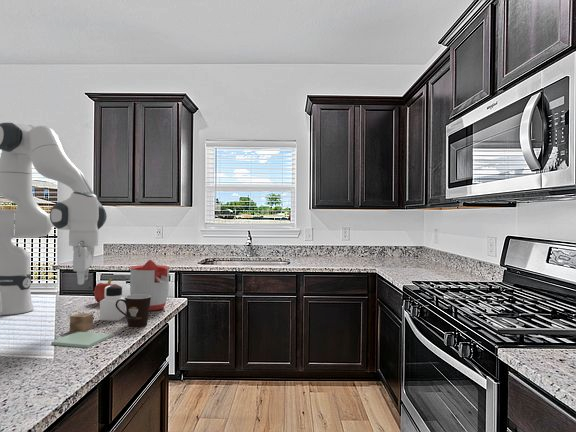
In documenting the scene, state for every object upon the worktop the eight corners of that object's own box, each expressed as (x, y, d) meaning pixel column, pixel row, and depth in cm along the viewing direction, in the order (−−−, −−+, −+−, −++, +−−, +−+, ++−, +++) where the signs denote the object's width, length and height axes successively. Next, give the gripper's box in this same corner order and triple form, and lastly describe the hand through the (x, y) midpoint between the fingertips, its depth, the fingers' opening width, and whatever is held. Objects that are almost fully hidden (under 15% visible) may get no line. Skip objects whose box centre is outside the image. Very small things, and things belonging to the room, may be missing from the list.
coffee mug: (155, 324, 159) (156, 296, 159) (136, 329, 152) (136, 299, 152) (133, 319, 165) (133, 292, 165) (113, 324, 158) (113, 295, 158)
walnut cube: (69, 331, 148) (70, 316, 148) (79, 327, 153) (79, 312, 153) (83, 332, 147) (83, 317, 147) (92, 328, 152) (93, 313, 152)
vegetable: (99, 300, 198) (100, 277, 198) (123, 300, 199) (124, 278, 199) (90, 305, 187) (90, 281, 187) (115, 306, 188) (116, 282, 188)
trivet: (51, 344, 133) (51, 341, 133) (77, 334, 145) (77, 331, 145) (88, 347, 131) (88, 345, 131) (111, 336, 143) (111, 334, 142)
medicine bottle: (125, 316, 170) (126, 284, 170) (119, 320, 163) (119, 287, 163) (106, 316, 170) (107, 284, 170) (99, 320, 163) (99, 287, 163)
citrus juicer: (147, 315, 173) (148, 263, 172) (121, 308, 183) (122, 259, 183) (179, 309, 185) (180, 260, 185) (153, 303, 196) (154, 256, 195)
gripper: (90, 242, 141) (89, 286, 141) (97, 239, 160) (96, 278, 160) (68, 242, 139) (67, 287, 139) (77, 238, 158) (76, 278, 158)
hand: (82, 282), depth 150 cm, fingers open, 8 cm apart
